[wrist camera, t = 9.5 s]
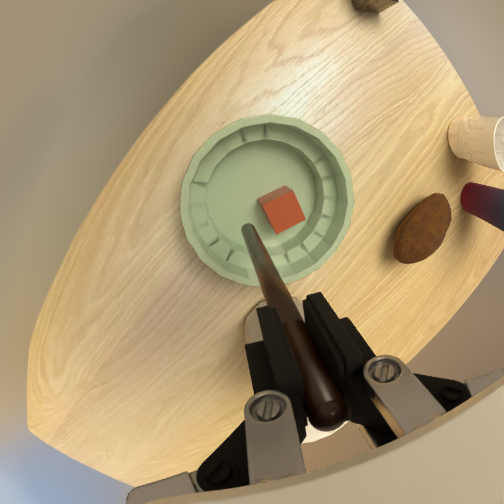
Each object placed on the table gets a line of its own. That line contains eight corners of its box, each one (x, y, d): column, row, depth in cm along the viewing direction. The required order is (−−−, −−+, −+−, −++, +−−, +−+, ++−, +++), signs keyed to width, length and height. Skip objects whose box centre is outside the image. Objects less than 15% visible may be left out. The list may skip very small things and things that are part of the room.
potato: (440, 205, 38) (471, 217, 31) (401, 265, 41) (427, 285, 34) (418, 178, 36) (450, 187, 29) (375, 242, 38) (402, 262, 32)
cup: (452, 194, 37) (524, 223, 24) (472, 168, 36) (542, 189, 23) (464, 224, 40) (529, 257, 26) (484, 198, 39) (547, 225, 25)
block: (270, 225, 35) (276, 234, 31) (256, 198, 33) (262, 205, 30) (296, 211, 35) (306, 219, 31) (284, 184, 33) (293, 190, 30)
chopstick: (242, 236, 26) (315, 443, 7) (238, 223, 25) (311, 424, 7) (255, 232, 26) (353, 430, 7) (252, 220, 25) (354, 409, 7)
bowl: (206, 278, 37) (206, 302, 31) (169, 138, 30) (161, 137, 24) (338, 246, 38) (358, 264, 32) (320, 110, 31) (341, 105, 25)
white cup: (438, 124, 33) (487, 129, 24) (464, 106, 32) (511, 108, 23) (454, 170, 36) (501, 183, 27) (479, 149, 35) (523, 158, 26)
